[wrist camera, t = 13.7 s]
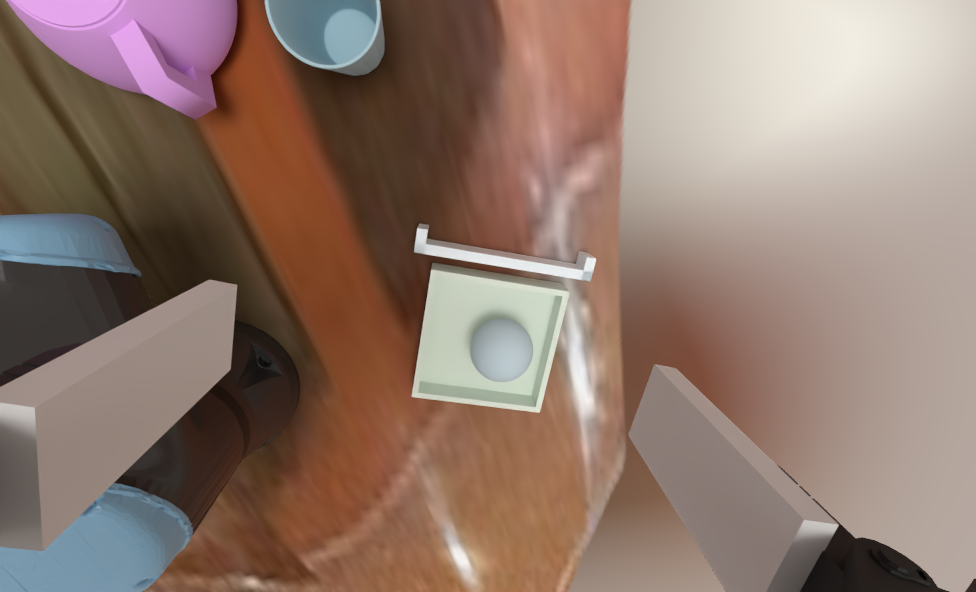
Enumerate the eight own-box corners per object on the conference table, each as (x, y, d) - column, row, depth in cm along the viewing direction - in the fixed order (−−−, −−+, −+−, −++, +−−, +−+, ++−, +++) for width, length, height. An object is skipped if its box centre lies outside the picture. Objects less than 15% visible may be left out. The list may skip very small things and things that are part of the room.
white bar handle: (416, 246, 46) (413, 252, 44) (419, 223, 46) (417, 227, 43) (582, 274, 49) (590, 281, 46) (587, 252, 48) (596, 258, 45)
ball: (455, 365, 48) (482, 396, 43) (465, 309, 47) (495, 334, 41) (506, 362, 52) (537, 391, 46) (518, 309, 50) (551, 333, 44)
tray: (413, 382, 51) (411, 396, 48) (432, 262, 47) (431, 269, 44) (534, 398, 53) (539, 412, 50) (562, 283, 49) (569, 291, 46)
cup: (370, -25, 39) (342, -84, 29) (412, 64, 41) (400, 37, 32) (294, 17, 40) (241, -28, 30) (340, 102, 42) (306, 87, 32)
